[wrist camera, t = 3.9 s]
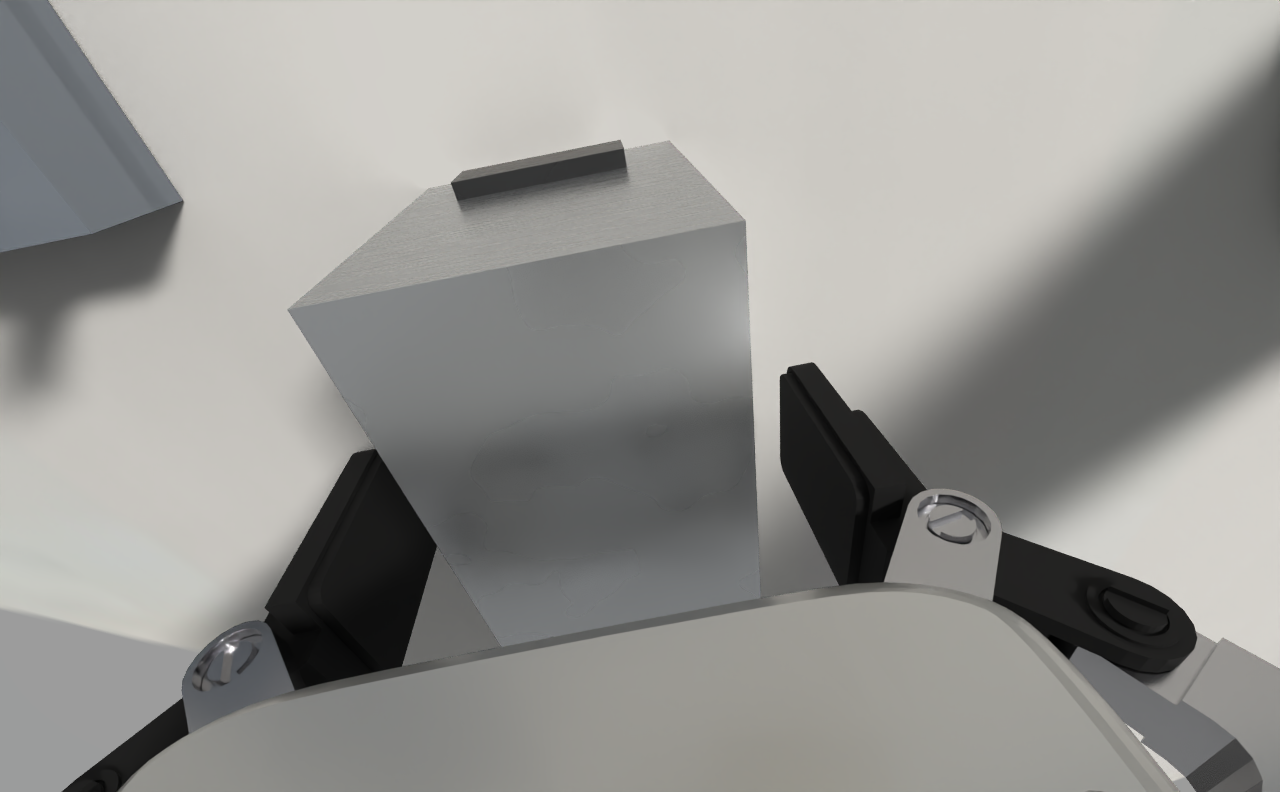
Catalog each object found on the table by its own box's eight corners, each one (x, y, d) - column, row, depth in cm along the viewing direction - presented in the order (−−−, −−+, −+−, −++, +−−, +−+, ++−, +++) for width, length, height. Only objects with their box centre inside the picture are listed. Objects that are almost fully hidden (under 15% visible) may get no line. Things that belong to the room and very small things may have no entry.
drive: (666, 122, 10) (743, 190, 5) (713, 523, 17) (765, 713, 12) (424, 171, 10) (270, 283, 5) (571, 549, 17) (565, 748, 12)
